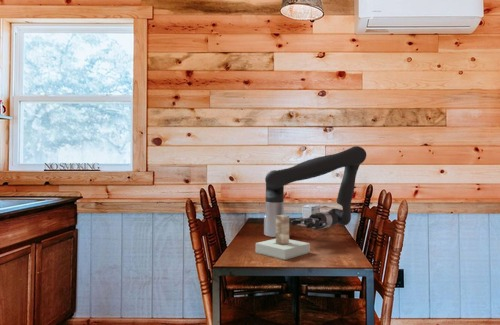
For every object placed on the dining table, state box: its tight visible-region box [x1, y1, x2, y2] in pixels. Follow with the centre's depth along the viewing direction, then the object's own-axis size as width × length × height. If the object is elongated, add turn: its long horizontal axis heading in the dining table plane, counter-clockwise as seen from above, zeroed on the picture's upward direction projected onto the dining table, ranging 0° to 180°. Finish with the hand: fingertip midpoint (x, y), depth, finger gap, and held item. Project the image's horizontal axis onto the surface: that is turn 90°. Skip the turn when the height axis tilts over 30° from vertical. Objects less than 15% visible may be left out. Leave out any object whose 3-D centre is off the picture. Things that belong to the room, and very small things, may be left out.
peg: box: [275, 214, 290, 246], centre depth 156 cm, size 4×4×15 cm
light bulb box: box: [301, 203, 321, 224], centre depth 230 cm, size 11×7×11 cm, turn 141°
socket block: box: [254, 238, 311, 261], centre depth 156 cm, size 16×16×4 cm
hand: (299, 224), depth 164 cm, fingers open, 8 cm apart
